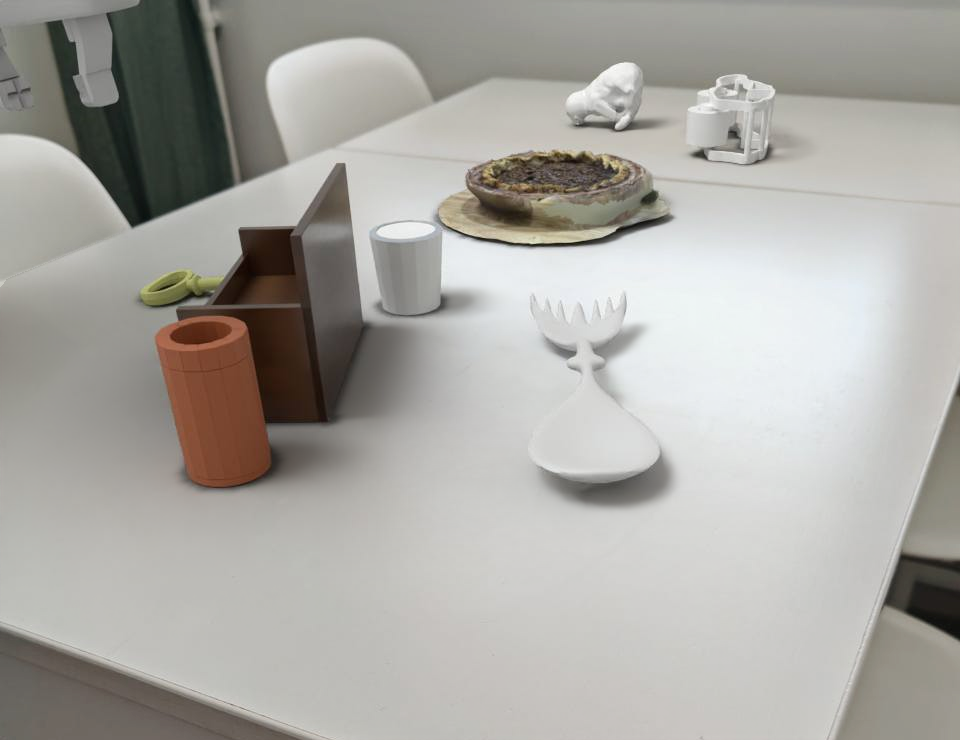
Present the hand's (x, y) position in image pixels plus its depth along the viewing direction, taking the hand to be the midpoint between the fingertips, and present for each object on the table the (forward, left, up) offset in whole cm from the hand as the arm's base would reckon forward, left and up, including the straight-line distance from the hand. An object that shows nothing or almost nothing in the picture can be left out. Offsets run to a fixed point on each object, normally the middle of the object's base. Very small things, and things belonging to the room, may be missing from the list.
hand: (59, 107), depth 64 cm
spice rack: (+9, +11, -23) cm, 27 cm away
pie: (+32, +57, -23) cm, 69 cm away
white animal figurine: (+40, +101, -23) cm, 111 cm away
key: (-4, +30, -23) cm, 38 cm away
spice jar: (+8, -6, -23) cm, 25 cm away
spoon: (+34, +4, -23) cm, 41 cm away
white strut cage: (+57, +86, -23) cm, 106 cm away
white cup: (+18, +26, -23) cm, 39 cm away
